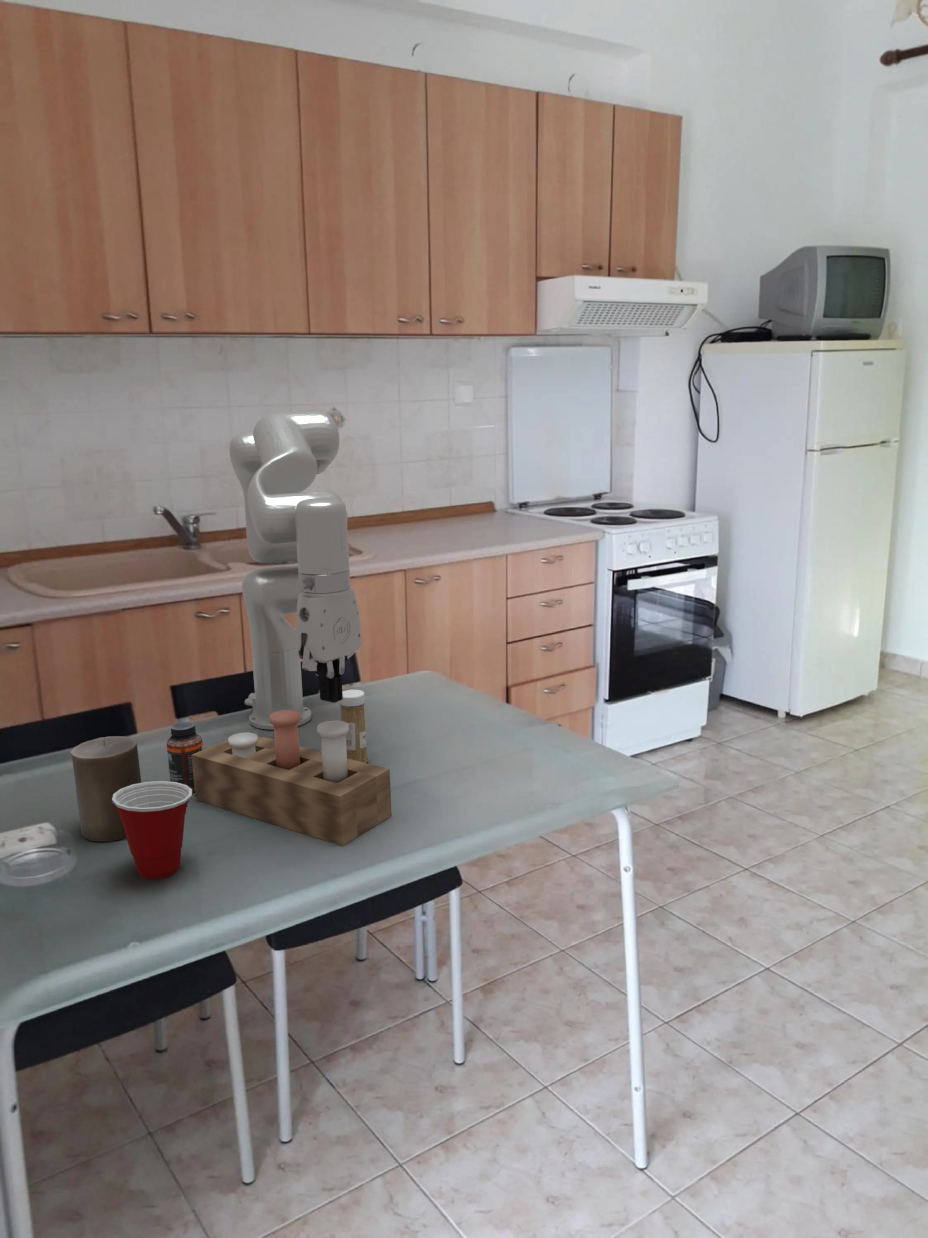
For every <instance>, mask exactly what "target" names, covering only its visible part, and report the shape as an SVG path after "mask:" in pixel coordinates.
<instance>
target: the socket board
mask: <svg viewBox="0 0 928 1238" xmlns="http://www.w3.org/2000/svg"><path fill="white" fill-rule="evenodd" d="M257 736H258V743H257V744H256V745H255V749H256V752H255V753H253V754H251V755H249V756H247V757H244V758H242V757H239V756H235V755H232V747H230V746H229V744H228V739H226V740H223V741H221V742H218V743H216V744H213V745H212V746H209V747H207V748H205V749H204V748H203V750H202V751H199V752H197V753H195V754H192V755H191V756H192V767H193V777H194V788H195V791H194V797H195V801H197V802H198V801H199V802H203V803H204V804H208V805H211V806H213V807H214V806H215V807H218V808H222V809H224V810H227V811H231V812H234V813H236V814H240V815H243V816H246V817H249V818H253V819H256V820H259V821H262V822H265V823H269V824H271V825H276V826H278V827H281V828H285V829H288V830H290V831H294V832H297V833H300V834H303V835H307V836H310V837H313V838H317V839H320V840H322V841H326V842H329V843H332V844H336V845H338V846H341V847H343V846H345V845H347V844H349V843H350V842H351V841H353V840H355V839H356V838H358V837H360V836H361V835H363V834H364V833H366V832H368V831H370V830H371V829H373V828H374V827H376V826H378V825H379V824H381V823H382V822H384V821H386V820H387V819H388V818H389V819H390V817H392V794H391V793H392V791H391V770H390V768H386V767H383V766H379V765H375V764H372V763H368V762H367V763H364V762H360V761H356V760H352V759H348V758H347V768H348V778H346V779H344V780H343V781H341V782H339V783H334V782H331V781H327V780H324V779H323V763H322V751H319V750H316V749H312V748H308V747H304V746H300V745H299V752H300V765H298V766H296V767H294V768H292V769H290V770H287V769H283V768H279V767H276V753H275V740H274V738H272V739H271V738H269V737H268V738H267V737H264V736H262V735H257Z"/></svg>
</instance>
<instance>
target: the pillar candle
mask: <svg viewBox="0 0 928 1238" xmlns="http://www.w3.org/2000/svg"><path fill="white" fill-rule="evenodd" d="M137 742H138V741H137V740H136V739H134V738H133V737H129V736H121V735H119V736H118V735H117V736H116V735H115V736H114V735H113V736H105V737H98V738H94V739H91V740H87V741H85V742H81V743H80V744H78V745H76V746H75V747H73V748H72V749H71V750H70V755H71V758H72V767H73V776H74V784H75V793H76V801H77V809H78V816H79V823H80V832H81V835H82V837H83V838H85V839H86V840H89V841H92V842H93V841H94V842H113V841H114V842H115V841H119V840H124V839H127V838H126V834H125V831H124V828H123V824H122V821H121V820H120V815H119V813H118V810H117V808H116V805H115V804H114V803H113V801H112V798H113V794H114V793H116V792H117V791H118V790H120V789H122V788H125V787H127V786H130V785H133V784H138V783H143V782H142V778H141V777H142V776H141V769H140V760H139V759H140V758H139V751H138V743H137Z"/></svg>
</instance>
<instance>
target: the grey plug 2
mask: <svg viewBox="0 0 928 1238" xmlns="http://www.w3.org/2000/svg"><path fill="white" fill-rule="evenodd" d="M316 731H317V732H316V733H317V736H319V737H320V742H321V752H322V763H323V779H324V780H327V781H331V782H334V783H339V782H341V781H343V780H344V779H346V778H348V768H347V749H346V734H347V733H348V732H349V725H348V723H346V722H344V721H341V720H327V721H324V722H320V723H319V724H318V725H317V726H316Z"/></svg>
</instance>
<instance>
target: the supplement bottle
mask: <svg viewBox="0 0 928 1238" xmlns="http://www.w3.org/2000/svg"><path fill="white" fill-rule="evenodd" d="M170 734H171V736H170V737H169V738H168V739H167V741H166V752H167V761H168V762H167V763H168V771H169V778H170V780H169V782H177V783H181V784H184V785H187V786H188V787H189V788H191V789H192V793H195V788H194V777H193V767H192V756H191V755H192V754H195V753H197V752H199V751H202V750H204V744H203V737H202V736H201V735H200V734H199V733H197V730H196V724H195V723H194V722H192V721H180V722H176V723H173V724H172V725H171V726H170Z"/></svg>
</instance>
